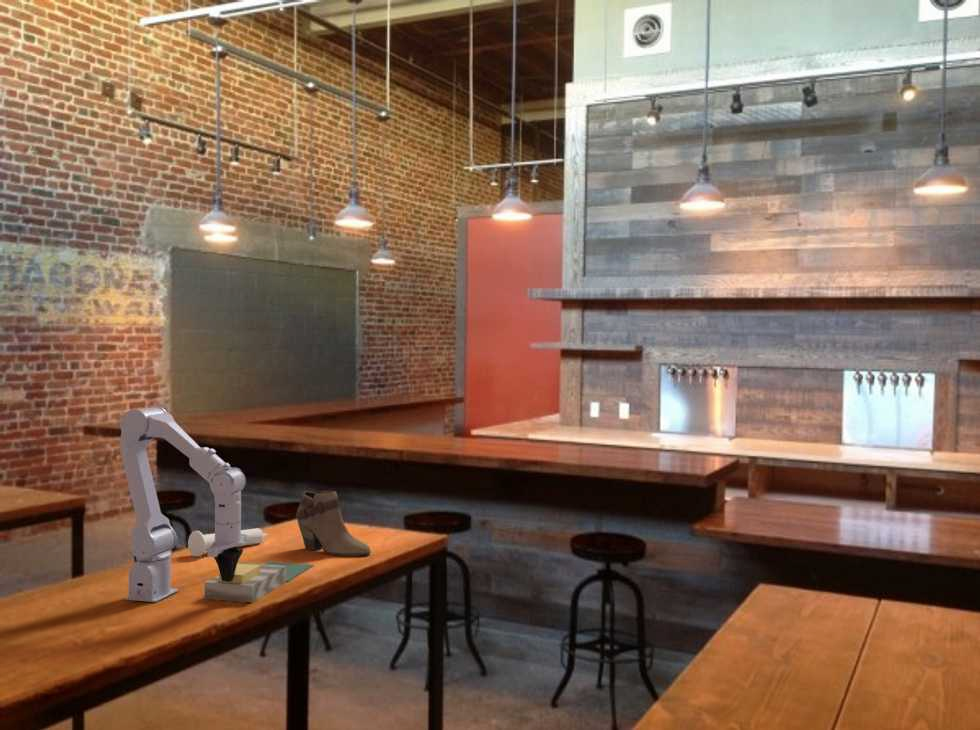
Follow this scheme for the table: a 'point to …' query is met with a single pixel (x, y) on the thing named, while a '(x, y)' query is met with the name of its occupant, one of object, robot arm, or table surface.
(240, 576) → the yellow rectangular block
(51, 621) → the table surface
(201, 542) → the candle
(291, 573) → the mat
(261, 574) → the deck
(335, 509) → the boot
